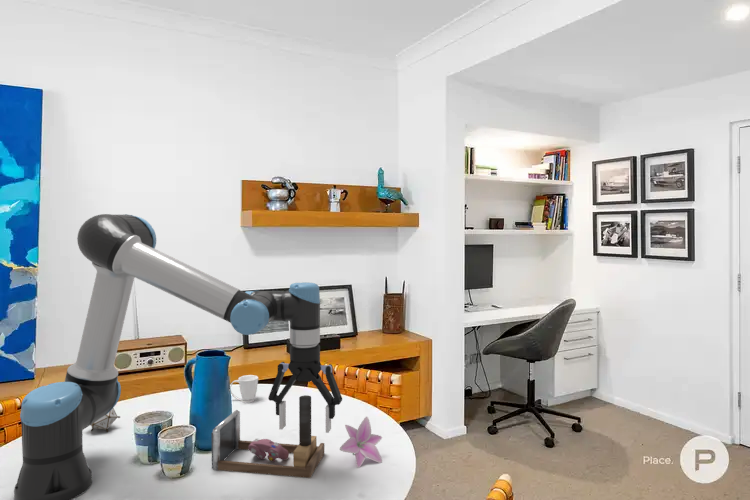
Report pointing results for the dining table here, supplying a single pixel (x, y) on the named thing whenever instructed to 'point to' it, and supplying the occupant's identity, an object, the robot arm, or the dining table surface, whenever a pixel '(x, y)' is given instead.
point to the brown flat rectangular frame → (274, 469)
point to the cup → (247, 388)
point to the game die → (105, 421)
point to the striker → (304, 434)
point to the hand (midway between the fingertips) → (305, 429)
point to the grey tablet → (225, 438)
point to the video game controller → (268, 450)
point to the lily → (362, 443)
